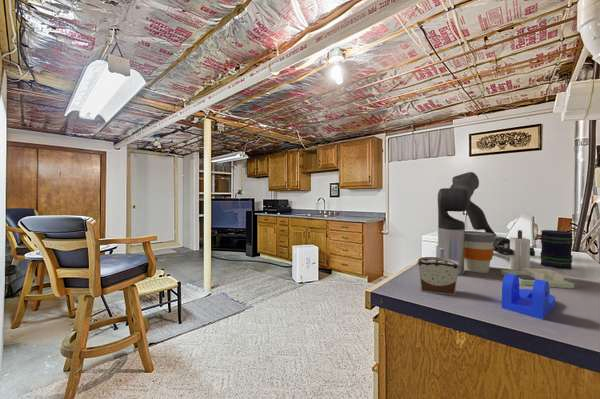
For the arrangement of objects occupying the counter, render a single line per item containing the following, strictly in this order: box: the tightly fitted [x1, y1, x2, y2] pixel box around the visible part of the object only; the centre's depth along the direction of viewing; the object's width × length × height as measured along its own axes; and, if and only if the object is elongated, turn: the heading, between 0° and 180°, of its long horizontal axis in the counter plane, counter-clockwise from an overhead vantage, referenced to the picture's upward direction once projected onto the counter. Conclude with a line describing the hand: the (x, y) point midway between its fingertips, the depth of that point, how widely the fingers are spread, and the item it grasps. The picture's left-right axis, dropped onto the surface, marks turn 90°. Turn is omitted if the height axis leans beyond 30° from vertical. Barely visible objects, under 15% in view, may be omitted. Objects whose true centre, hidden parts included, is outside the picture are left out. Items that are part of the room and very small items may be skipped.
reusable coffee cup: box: [464, 230, 495, 274], centre depth 108 cm, size 13×13×15 cm
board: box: [500, 267, 575, 290], centre depth 94 cm, size 15×13×4 cm
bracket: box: [501, 273, 556, 320], centre depth 73 cm, size 18×8×9 cm, turn 127°
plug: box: [508, 229, 531, 271], centre depth 106 cm, size 5×5×16 cm
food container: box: [416, 256, 461, 296], centre depth 85 cm, size 12×6×10 cm, turn 71°
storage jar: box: [539, 229, 574, 270], centre depth 113 cm, size 10×10×15 cm
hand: (522, 253), depth 105 cm, fingers open, 6 cm apart
